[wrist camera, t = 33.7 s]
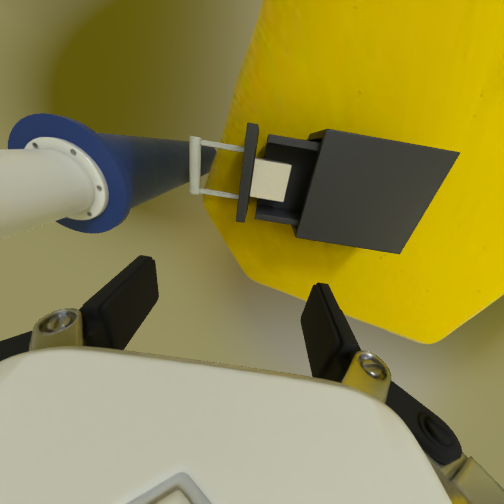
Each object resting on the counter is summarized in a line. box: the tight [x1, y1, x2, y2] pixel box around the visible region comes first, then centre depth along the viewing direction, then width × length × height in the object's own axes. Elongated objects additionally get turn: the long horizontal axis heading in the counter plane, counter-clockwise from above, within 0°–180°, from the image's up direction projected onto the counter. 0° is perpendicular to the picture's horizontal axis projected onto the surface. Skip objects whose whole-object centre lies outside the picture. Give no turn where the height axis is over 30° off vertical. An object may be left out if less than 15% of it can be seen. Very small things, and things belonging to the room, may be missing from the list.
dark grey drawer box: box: [291, 129, 460, 254], centre depth 27 cm, size 15×13×8 cm
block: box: [250, 158, 292, 202], centre depth 26 cm, size 4×4×4 cm
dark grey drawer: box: [190, 123, 321, 226], centre depth 27 cm, size 21×11×6 cm, turn 81°
